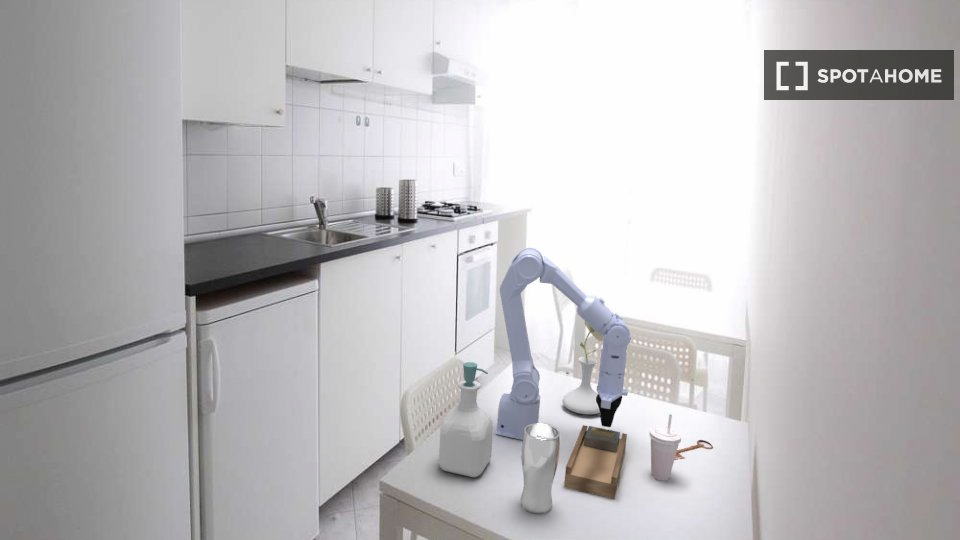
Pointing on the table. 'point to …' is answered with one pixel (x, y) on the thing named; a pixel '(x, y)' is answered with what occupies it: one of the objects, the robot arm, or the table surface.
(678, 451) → the key
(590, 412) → the flower in vase
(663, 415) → the table surface
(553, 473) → the beer glass
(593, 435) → the lever cap
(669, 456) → the smoothie
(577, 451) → the wooden tray
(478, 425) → the soap bottle
